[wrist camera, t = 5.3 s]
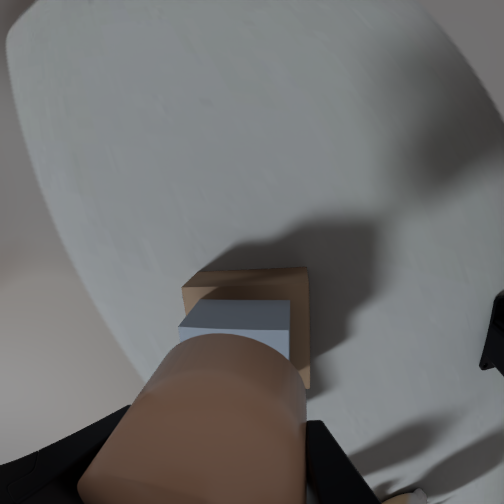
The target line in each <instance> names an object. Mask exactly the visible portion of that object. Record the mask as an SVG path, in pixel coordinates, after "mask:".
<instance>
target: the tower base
mask: <svg viewBox="0 0 504 504" xmlns="http://www.w3.org/2000/svg"><path fill="white" fill-rule="evenodd" d="M181 288H182V294H183V300H184V306H185V312H186V316H187V315H188V313H189V312H190V311H191V310H192V308H193V307H194V306H195V304H196V303H197V302H198V301H199V299H211V300H290V362H291V363H292V364H293V366H294V367H295V368H296V369H297V371H298V372H299V374H300V376H301V378H302V380H303V383H304V385H305V389H310V307H309V280H308V274H307V267H292V268H272V269H251V270H228V271H204V272H197V273H196V274H195V275H194V276H193V277H192V278H191V279H190V280H189V281H188V282H187V283H186V284H185V285H184V286H182V287H181Z"/></svg>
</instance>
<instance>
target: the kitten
mask: <svg viewBox="0 0 504 504" xmlns="http://www.w3.org/2000/svg"><path fill="white" fill-rule="evenodd" d="M382 504H427V496H426V494H425V493H424V492H423V490H422V489H421V488H417V489H416V490H415V491H414V493H406V494H401V495H398V496H395V497H393V498H391V499H388V500H386V501H385V502H383V503H382Z"/></svg>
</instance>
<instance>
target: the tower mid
mask: <svg viewBox="0 0 504 504" xmlns="http://www.w3.org/2000/svg"><path fill="white" fill-rule="evenodd" d="M178 329H179V335H180V342H183V341H185V340H187V339H189V338H192V337H195V336H199V335H204V334H211V333H226V334H235V335H240V336H245V337H248V338H252V339H255V340H257V341H260V342H262V343H264V344H266V345H268V346H270V347H272V348H274V349H275V350H277V351H278V352H279V353H281V354H282V355H284V356H285V357H286V358H287V359H288V360H289V361H290V300H211V299H199V301H198V302H197V303H196V304H195V306H194V307H193V308H192V310H191V311H190V312H189V313H188V315H187V316H186V317H185V319H184V320H183V321H182V322H181V324H180V325H179V326H178Z"/></svg>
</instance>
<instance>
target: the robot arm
mask: <svg viewBox="0 0 504 504" xmlns="http://www.w3.org/2000/svg"><path fill="white" fill-rule="evenodd" d="M499 302H500V304H499ZM498 304H499V305H498ZM484 364H485V365H484ZM479 367H480V368H481V370H487V369H491V368H494V367H496V368H497V369H498V371H499V372H500V373H501V374H502V375H503V376H504V295H503V296H498V297H497V298H496V299H495V300H494V304H493V309H492V314H491V319H490V324H489V329H488V333H487V337H486V341H485V345H484V349H483V353H482V357H481V360H480V364H479ZM130 406H131V405H127V406H125V407H123V408H121V409H120V410H118V411H116V412H114V413H112V414H110V415H108V416H106V417H105V418H103V419H101V420H99V421H97V422H95V423H93V424H91V425H89V426H87V427H85V428H83V429H81V430H80V431H77V432H76V433H73V434H71V435H70V436H67V437H66V438H63V439H61V440H59V441H57V442H55V443H53V444H51V445H49V446H47V447H45V448H42V449H41V450H39V452H38V451H36V452H33V453H31V454H29V455H27V456H24V457H22V458H19V459H17V460H14V461H11V462H9V463H6V464H3V465H0V504H84V502H83V501H82V499H81V497H80V496H79V493H78V489H77V484H78V481H79V480H80V478H81V477H82V475H83V474H84V473H85V471H86V470H87V468H88V467H89V465H90V464H91V462H92V461H93V460H94V458H95V457H96V455H97V454H98V452H99V451H100V449H101V448H102V446H103V445H104V444H105V442H106V441H107V439H108V438H109V436H110V435H111V433H112V432H113V431H114V429H115V428H116V426H117V425H118V423H119V422H120V421H121V419H122V418H123V416H124V415H125V413H126V412H127V411H128V409H129V408H130ZM306 459H307V502H306V504H382V503H381V502H380V500H379V499H378V498H377V496H376V495H375V494H374V492H373V491H372V490H371V488H370V487H369V486H368V484H367V483H366V482H365V480H364V479H363V477H362V476H361V475H360V473H359V472H358V471H357V469H356V468H355V466H354V465H353V464H352V462H351V461H350V460H349V458H348V457H347V455H346V454H345V453H344V451H343V450H342V448H341V447H340V446H339V444H338V443H337V441H336V440H335V438H334V437H333V436H332V434H331V433H330V431H329V430H328V428H327V427H326V426H325V424H324V423H323V421H321V420H309V421H307V422H306Z"/></svg>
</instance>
